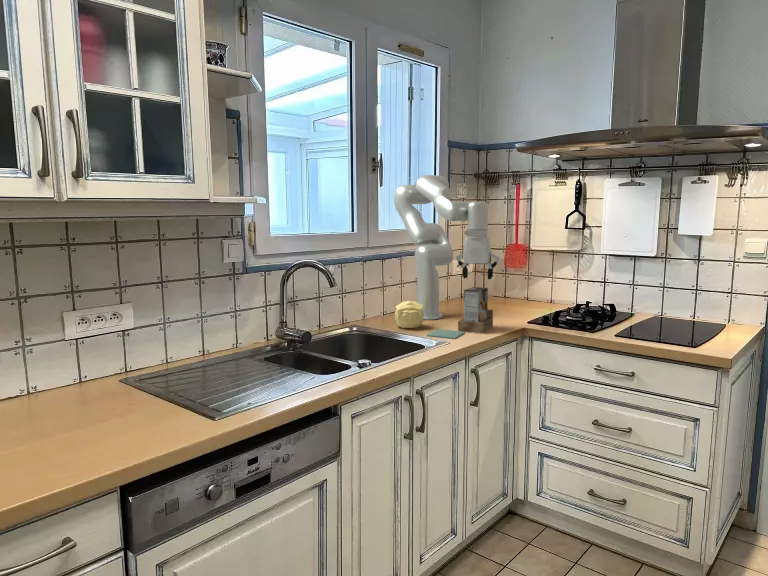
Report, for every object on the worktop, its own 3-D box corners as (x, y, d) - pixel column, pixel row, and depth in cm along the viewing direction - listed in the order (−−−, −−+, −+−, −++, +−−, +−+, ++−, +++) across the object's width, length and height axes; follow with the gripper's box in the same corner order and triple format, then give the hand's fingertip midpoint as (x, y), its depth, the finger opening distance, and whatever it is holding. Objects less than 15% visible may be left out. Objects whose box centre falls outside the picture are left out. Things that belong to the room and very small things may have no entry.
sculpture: (395, 330, 218) (395, 303, 217) (394, 324, 230) (394, 298, 229) (425, 330, 219) (425, 303, 217) (421, 323, 231) (422, 298, 229)
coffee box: (472, 326, 226) (473, 286, 224) (487, 327, 223) (488, 287, 220) (463, 330, 218) (463, 289, 216) (478, 332, 215) (479, 290, 213)
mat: (427, 336, 209) (427, 334, 209) (437, 330, 218) (437, 329, 218) (455, 339, 204) (455, 337, 204) (464, 333, 213) (464, 331, 213)
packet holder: (457, 331, 217) (458, 313, 216) (468, 324, 228) (468, 307, 227) (483, 333, 212) (483, 315, 211) (492, 327, 224) (493, 309, 223)
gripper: (452, 234, 215) (453, 278, 218) (497, 234, 208) (496, 280, 210) (459, 233, 222) (459, 276, 224) (502, 233, 214) (502, 278, 216)
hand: (477, 278), depth 217 cm, fingers open, 9 cm apart
